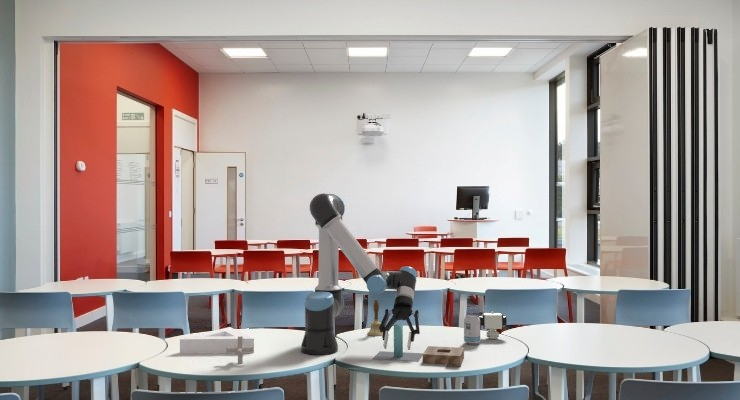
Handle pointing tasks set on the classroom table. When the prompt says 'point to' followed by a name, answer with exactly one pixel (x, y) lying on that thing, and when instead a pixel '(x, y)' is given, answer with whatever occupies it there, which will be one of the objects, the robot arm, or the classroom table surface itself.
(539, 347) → the classroom table surface
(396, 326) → the peg
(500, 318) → the pneumatic valve
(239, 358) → the pipe connector
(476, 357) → the classroom table surface
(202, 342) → the triangle block
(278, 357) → the classroom table surface
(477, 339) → the beverage can
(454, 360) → the hole block
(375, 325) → the hand bell
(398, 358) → the mat
